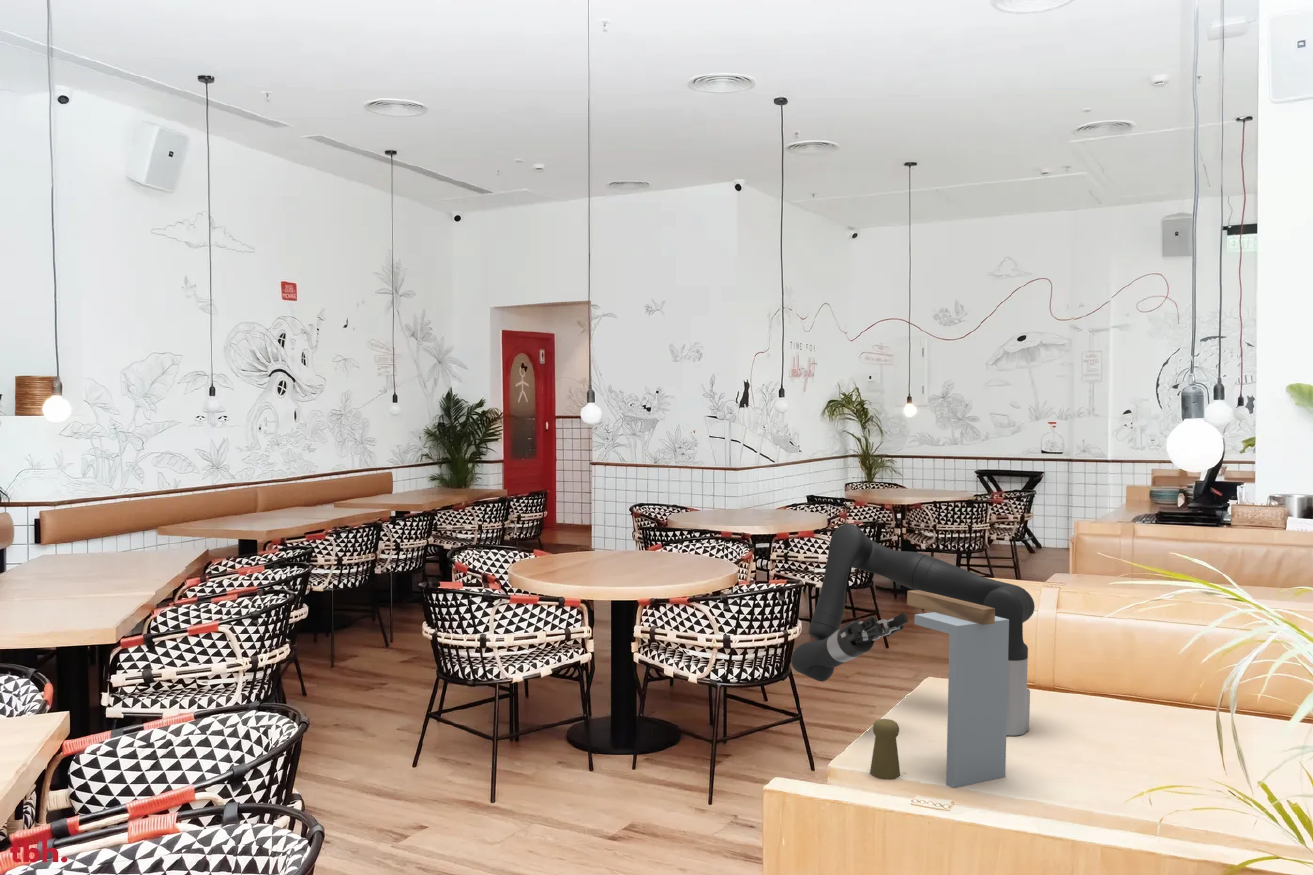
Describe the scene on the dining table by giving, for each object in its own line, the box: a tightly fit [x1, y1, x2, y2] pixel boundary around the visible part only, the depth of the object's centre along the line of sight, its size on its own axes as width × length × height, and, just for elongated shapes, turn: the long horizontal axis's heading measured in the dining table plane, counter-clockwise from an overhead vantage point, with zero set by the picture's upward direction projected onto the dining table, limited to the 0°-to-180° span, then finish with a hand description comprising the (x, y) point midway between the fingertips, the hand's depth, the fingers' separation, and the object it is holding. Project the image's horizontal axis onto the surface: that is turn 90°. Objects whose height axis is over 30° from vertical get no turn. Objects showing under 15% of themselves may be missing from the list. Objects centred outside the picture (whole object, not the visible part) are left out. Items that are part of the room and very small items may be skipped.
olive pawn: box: [869, 718, 901, 780], centre depth 212 cm, size 6×6×11 cm
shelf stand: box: [914, 611, 1009, 789], centre depth 213 cm, size 14×12×32 cm
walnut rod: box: [906, 589, 995, 625], centre depth 216 cm, size 3×22×3 cm, turn 28°
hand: (890, 618), depth 232 cm, fingers open, 8 cm apart
